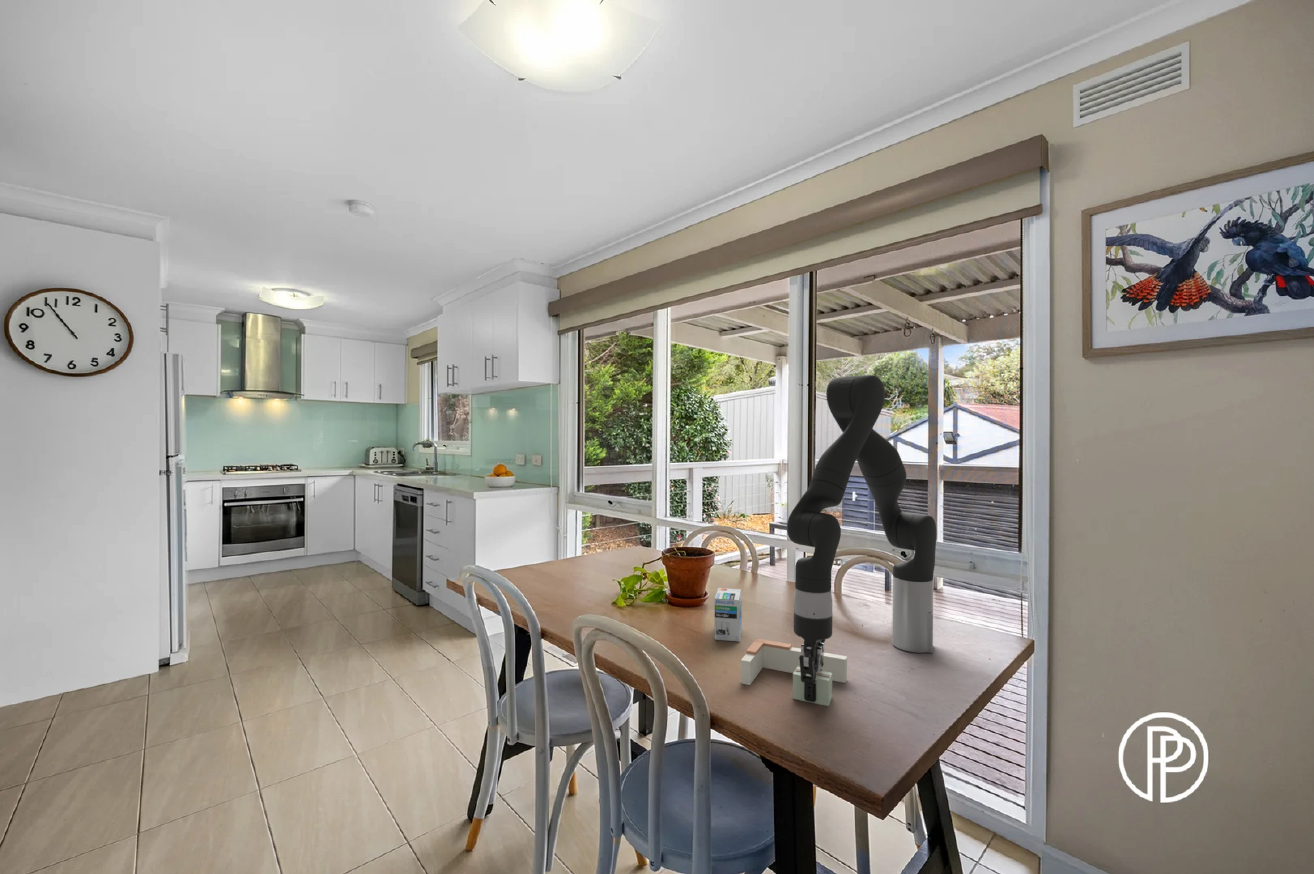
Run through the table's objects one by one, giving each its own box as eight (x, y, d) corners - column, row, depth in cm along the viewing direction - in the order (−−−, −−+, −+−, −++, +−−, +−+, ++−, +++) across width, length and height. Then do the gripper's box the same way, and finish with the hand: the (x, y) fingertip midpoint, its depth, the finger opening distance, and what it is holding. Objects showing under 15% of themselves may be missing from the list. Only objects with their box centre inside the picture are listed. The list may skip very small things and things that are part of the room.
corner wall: (847, 679, 124) (847, 653, 123) (838, 703, 113) (838, 674, 113) (756, 662, 132) (756, 638, 132) (740, 683, 122) (740, 656, 121)
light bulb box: (740, 642, 145) (740, 600, 145) (713, 640, 146) (713, 598, 146) (742, 628, 156) (742, 588, 155) (717, 626, 157) (717, 587, 157)
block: (832, 697, 115) (832, 672, 115) (828, 706, 112) (828, 679, 111) (797, 690, 118) (797, 665, 118) (792, 698, 115) (792, 673, 115)
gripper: (826, 624, 107) (825, 715, 107) (837, 603, 119) (837, 685, 120) (785, 618, 110) (785, 707, 110) (801, 599, 123) (801, 678, 123)
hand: (812, 695), depth 115 cm, fingers closed on block, 4 cm apart
